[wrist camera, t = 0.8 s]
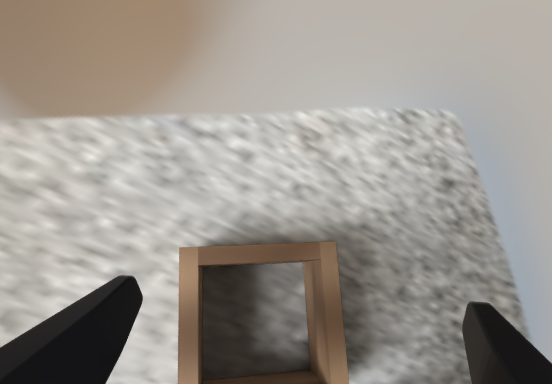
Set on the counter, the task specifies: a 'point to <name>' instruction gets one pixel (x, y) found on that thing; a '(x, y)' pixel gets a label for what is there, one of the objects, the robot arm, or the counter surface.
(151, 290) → the counter surface
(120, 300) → the robot arm
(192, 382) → the square frame
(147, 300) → the counter surface
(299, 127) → the counter surface
